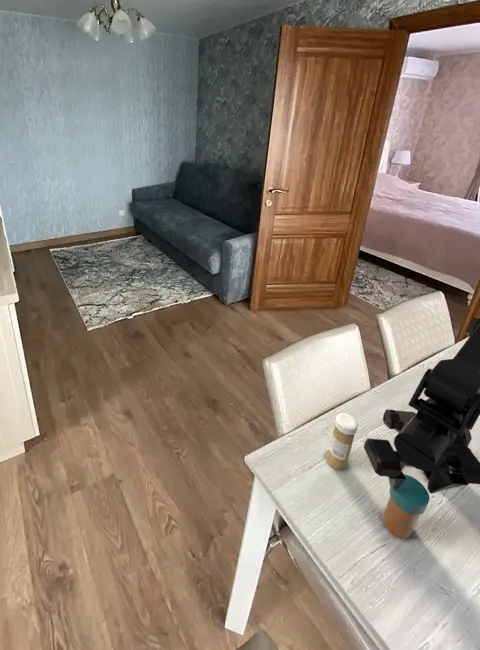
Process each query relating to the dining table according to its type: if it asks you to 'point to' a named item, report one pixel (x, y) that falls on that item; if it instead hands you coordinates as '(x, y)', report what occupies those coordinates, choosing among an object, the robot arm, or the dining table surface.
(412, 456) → the robot arm
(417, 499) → the lid
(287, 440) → the dining table surface
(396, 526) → the jar
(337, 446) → the sprinkles bottle
